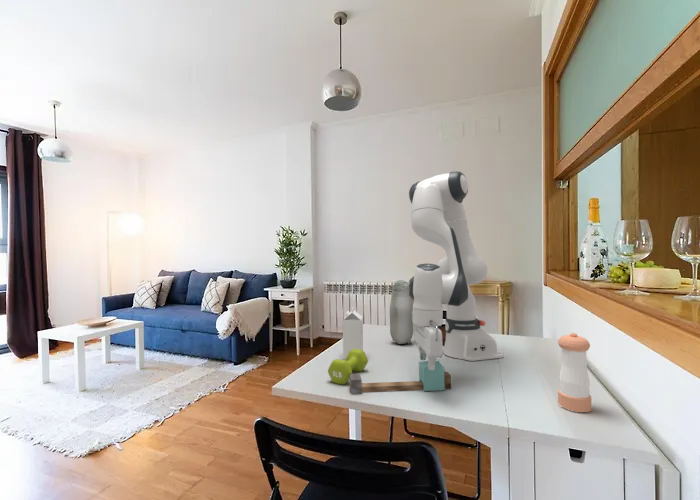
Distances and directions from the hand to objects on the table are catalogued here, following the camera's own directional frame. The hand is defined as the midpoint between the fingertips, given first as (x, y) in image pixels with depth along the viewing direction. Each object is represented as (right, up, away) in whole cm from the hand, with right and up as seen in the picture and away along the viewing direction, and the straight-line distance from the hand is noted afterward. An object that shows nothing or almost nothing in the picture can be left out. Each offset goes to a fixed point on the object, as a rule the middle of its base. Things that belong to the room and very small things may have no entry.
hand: (426, 364), depth 104 cm
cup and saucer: (+20, -7, +51) cm, 56 cm away
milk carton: (-22, -8, +30) cm, 38 cm away
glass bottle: (0, -7, +50) cm, 50 cm away
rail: (-8, -7, -1) cm, 11 cm away
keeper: (+1, -7, 0) cm, 7 cm away
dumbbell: (-23, -8, +10) cm, 27 cm away
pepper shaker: (+36, -7, -14) cm, 39 cm away
